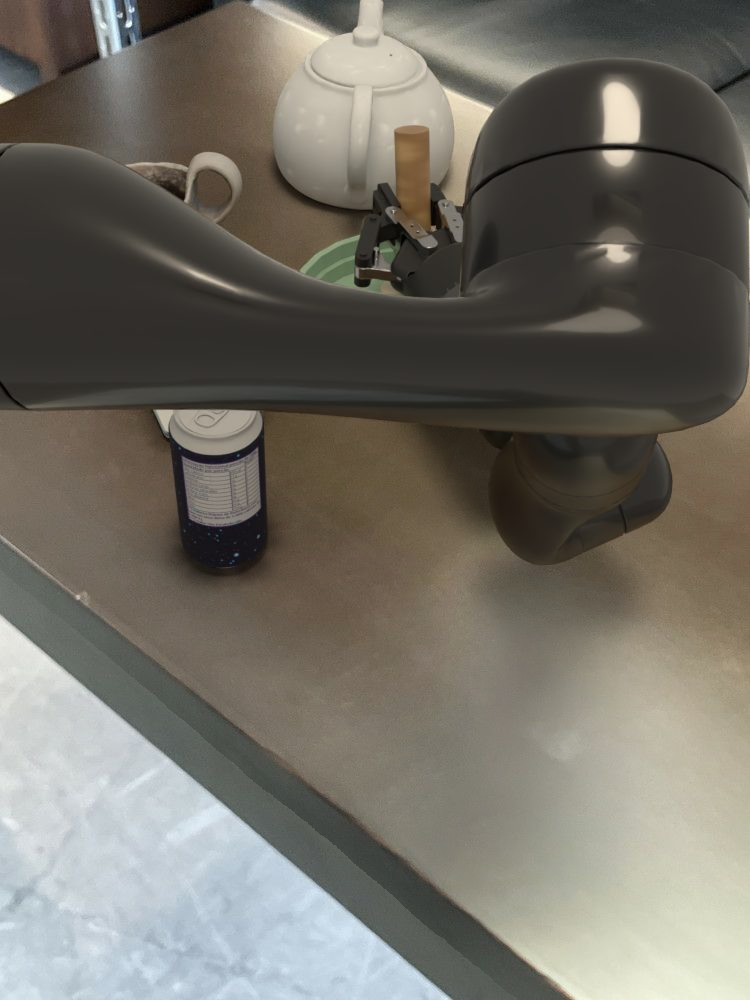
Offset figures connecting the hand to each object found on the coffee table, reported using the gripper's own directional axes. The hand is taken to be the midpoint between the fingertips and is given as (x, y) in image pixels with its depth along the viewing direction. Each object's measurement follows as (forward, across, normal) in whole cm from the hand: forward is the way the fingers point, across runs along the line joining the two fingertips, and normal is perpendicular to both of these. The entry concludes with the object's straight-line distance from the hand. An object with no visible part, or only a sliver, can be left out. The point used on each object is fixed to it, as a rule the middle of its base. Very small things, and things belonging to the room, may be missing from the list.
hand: (400, 191), depth 90 cm
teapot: (+20, -3, +10) cm, 22 cm away
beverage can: (-24, +20, +10) cm, 33 cm away
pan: (-5, 0, +10) cm, 11 cm away
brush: (-6, 0, +8) cm, 10 cm away
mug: (+9, +17, +10) cm, 22 cm away
